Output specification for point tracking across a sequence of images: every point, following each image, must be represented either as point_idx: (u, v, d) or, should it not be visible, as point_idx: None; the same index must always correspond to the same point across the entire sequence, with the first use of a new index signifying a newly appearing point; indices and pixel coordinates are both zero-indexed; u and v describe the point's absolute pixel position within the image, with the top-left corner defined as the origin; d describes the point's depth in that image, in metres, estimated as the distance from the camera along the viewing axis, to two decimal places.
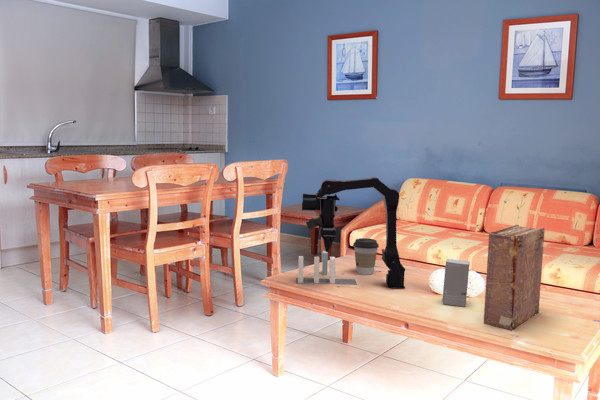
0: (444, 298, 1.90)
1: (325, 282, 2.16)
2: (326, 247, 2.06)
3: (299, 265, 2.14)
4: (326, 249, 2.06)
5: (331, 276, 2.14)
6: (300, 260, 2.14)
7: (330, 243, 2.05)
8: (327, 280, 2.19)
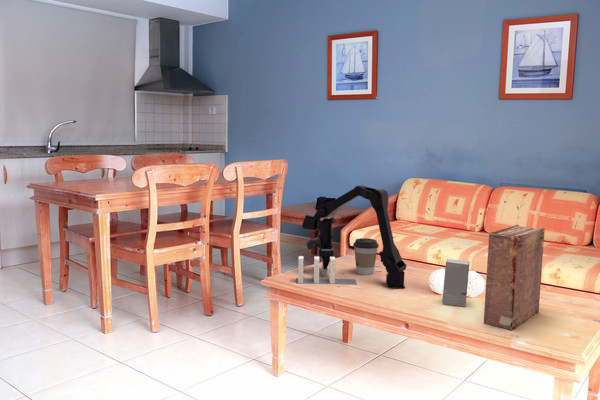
0: (444, 298, 1.90)
1: (325, 282, 2.16)
2: (324, 265, 2.26)
3: (299, 265, 2.14)
4: (324, 267, 2.26)
5: (331, 276, 2.14)
6: (300, 260, 2.14)
7: (328, 261, 2.25)
8: (327, 280, 2.19)
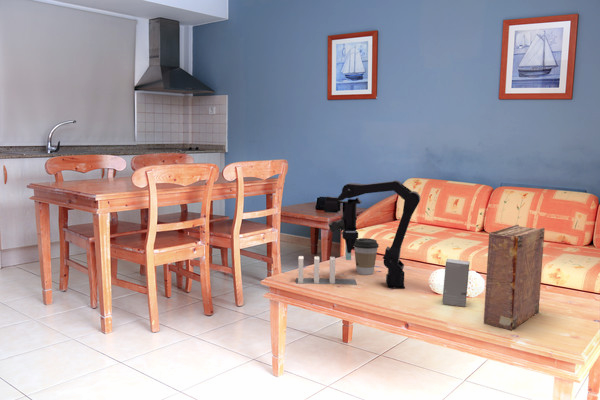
0: (444, 298, 1.90)
1: (325, 282, 2.16)
2: (348, 248, 2.14)
3: (299, 265, 2.14)
4: (348, 250, 2.14)
5: (331, 276, 2.14)
6: (300, 260, 2.14)
7: (352, 244, 2.13)
8: (327, 280, 2.19)
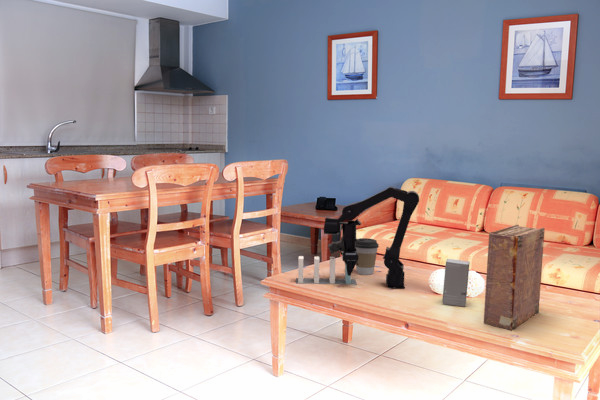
0: (444, 298, 1.90)
1: (325, 282, 2.16)
2: (348, 271, 2.11)
3: (299, 265, 2.14)
4: (348, 273, 2.11)
5: (331, 276, 2.14)
6: (300, 260, 2.14)
7: (352, 267, 2.10)
8: (327, 280, 2.19)
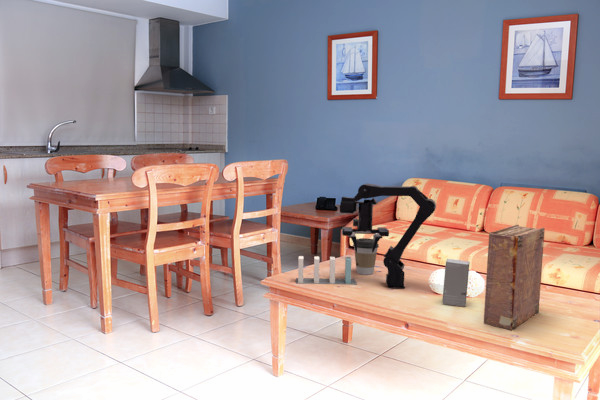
0: (444, 298, 1.90)
1: (325, 282, 2.16)
2: (355, 247, 2.16)
3: (299, 265, 2.14)
4: (355, 249, 2.16)
5: (331, 276, 2.14)
6: (300, 260, 2.14)
7: None
8: (327, 280, 2.19)
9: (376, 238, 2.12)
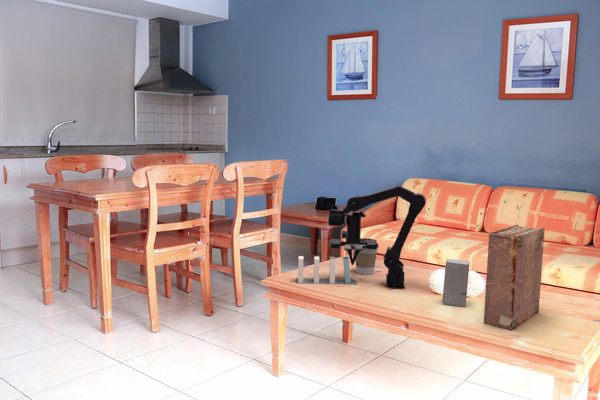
0: (444, 298, 1.90)
1: (325, 282, 2.16)
2: None
3: (299, 265, 2.14)
4: None
5: (331, 276, 2.14)
6: (300, 260, 2.14)
7: (349, 256, 2.15)
8: (327, 280, 2.19)
9: (356, 251, 2.13)
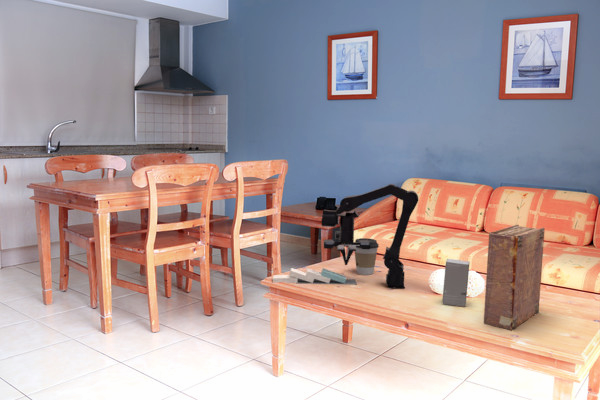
0: (444, 298, 1.90)
1: (325, 282, 2.16)
2: (344, 260, 2.16)
3: None
4: (344, 262, 2.16)
5: (322, 279, 2.14)
6: (274, 281, 2.15)
7: None
8: None
9: (349, 251, 2.13)
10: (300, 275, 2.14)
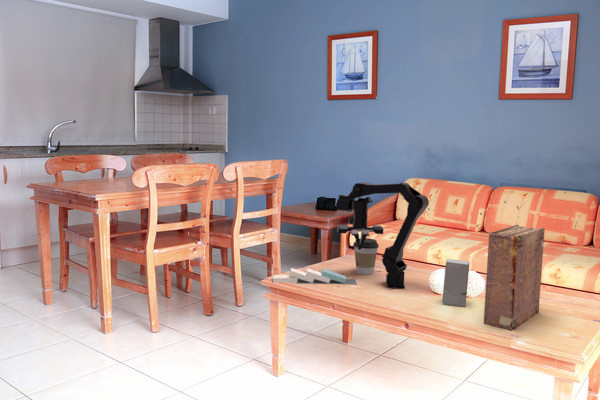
0: (444, 298, 1.90)
1: (325, 282, 2.16)
2: (357, 245, 2.21)
3: None
4: None
5: (322, 279, 2.14)
6: (274, 281, 2.15)
7: (356, 241, 2.19)
8: None
9: (363, 235, 2.17)
10: (300, 275, 2.14)
